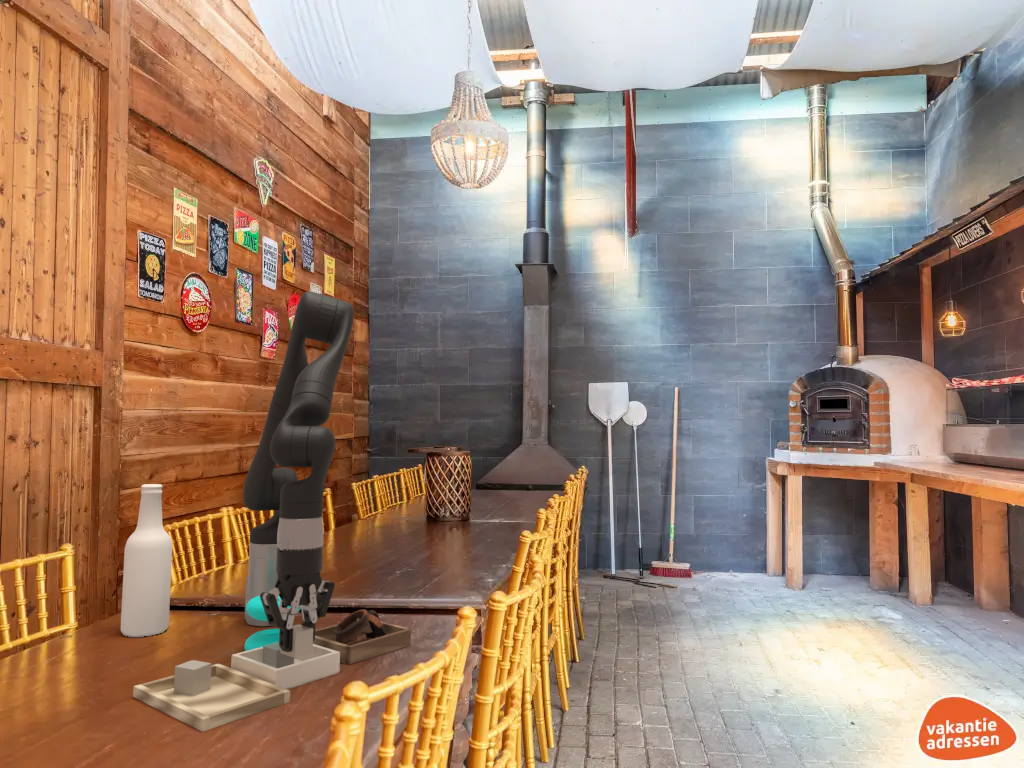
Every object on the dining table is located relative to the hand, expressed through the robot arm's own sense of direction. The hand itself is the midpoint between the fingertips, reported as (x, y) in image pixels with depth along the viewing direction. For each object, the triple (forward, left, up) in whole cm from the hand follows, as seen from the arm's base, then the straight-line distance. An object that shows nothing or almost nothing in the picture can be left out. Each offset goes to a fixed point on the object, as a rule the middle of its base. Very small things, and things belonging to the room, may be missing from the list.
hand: (296, 647), depth 120 cm
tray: (-2, -14, -5) cm, 15 cm away
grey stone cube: (-7, -14, -5) cm, 17 cm away
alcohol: (-48, -2, -6) cm, 48 cm away
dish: (-3, 0, -5) cm, 6 cm away
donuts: (-17, +7, -6) cm, 19 cm away
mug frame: (-7, +19, -5) cm, 21 cm away
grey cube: (-5, 0, -5) cm, 7 cm away
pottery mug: (-6, +20, -6) cm, 21 cm away
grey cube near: (0, 0, -1) cm, 1 cm away
